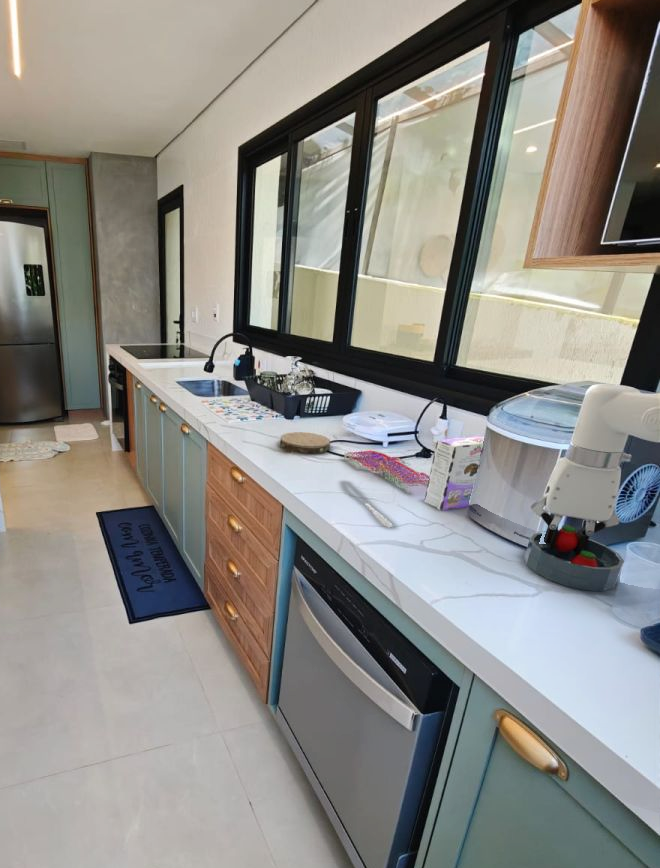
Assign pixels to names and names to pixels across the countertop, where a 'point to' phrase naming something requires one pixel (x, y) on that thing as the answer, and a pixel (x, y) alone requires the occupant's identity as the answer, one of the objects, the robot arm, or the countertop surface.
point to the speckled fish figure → (393, 467)
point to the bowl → (574, 565)
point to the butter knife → (380, 517)
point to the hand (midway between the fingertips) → (562, 547)
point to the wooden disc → (304, 443)
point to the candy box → (453, 472)
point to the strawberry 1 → (566, 538)
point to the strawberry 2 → (585, 559)
